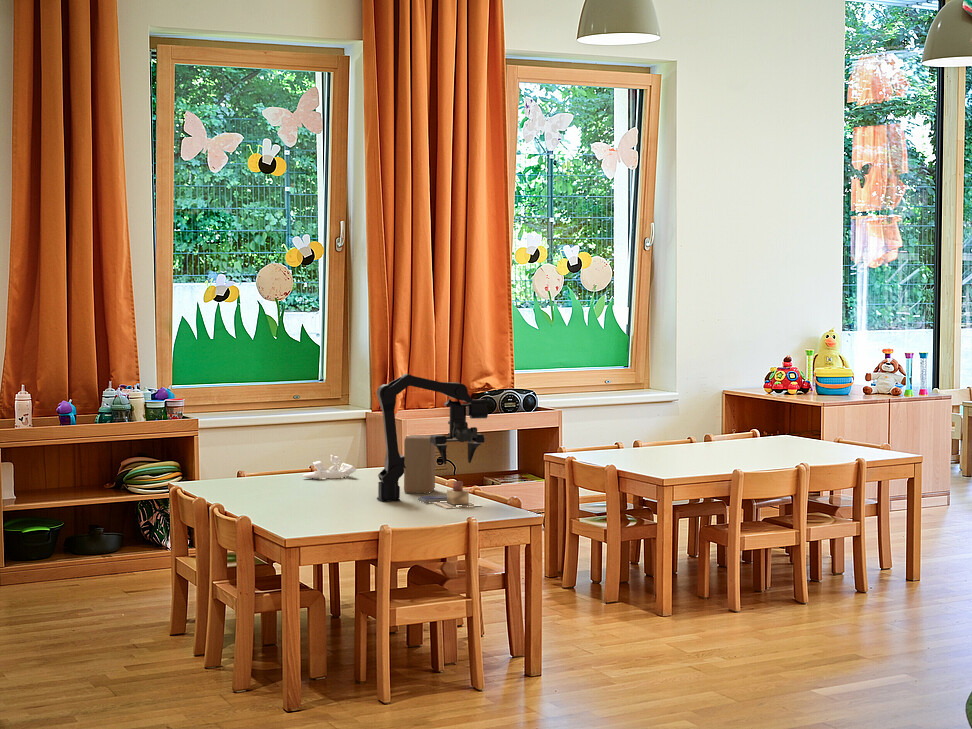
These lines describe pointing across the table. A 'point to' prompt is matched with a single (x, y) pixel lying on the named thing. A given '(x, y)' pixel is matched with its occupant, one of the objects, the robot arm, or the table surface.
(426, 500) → the ink pad
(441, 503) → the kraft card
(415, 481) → the wooden block
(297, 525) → the table surface
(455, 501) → the stamp
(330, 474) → the white coral
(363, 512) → the table surface
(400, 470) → the robot arm
